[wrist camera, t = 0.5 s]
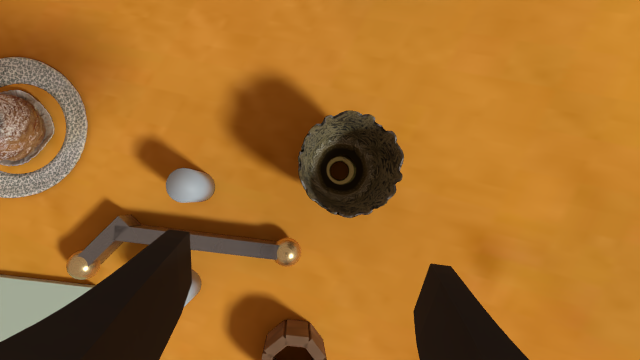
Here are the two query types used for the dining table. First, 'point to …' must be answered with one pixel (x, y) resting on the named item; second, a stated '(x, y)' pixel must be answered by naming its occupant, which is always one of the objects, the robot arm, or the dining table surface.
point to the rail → (132, 231)
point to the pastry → (36, 126)
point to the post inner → (194, 287)
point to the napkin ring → (294, 339)
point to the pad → (32, 301)
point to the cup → (350, 164)
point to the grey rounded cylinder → (190, 185)
